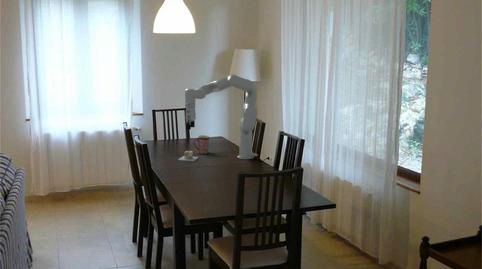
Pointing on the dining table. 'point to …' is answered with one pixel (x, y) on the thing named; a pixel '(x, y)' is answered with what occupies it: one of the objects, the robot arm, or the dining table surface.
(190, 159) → the pad
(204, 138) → the mug
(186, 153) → the maple block
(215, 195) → the dining table surface
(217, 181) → the dining table surface
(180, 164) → the dining table surface
